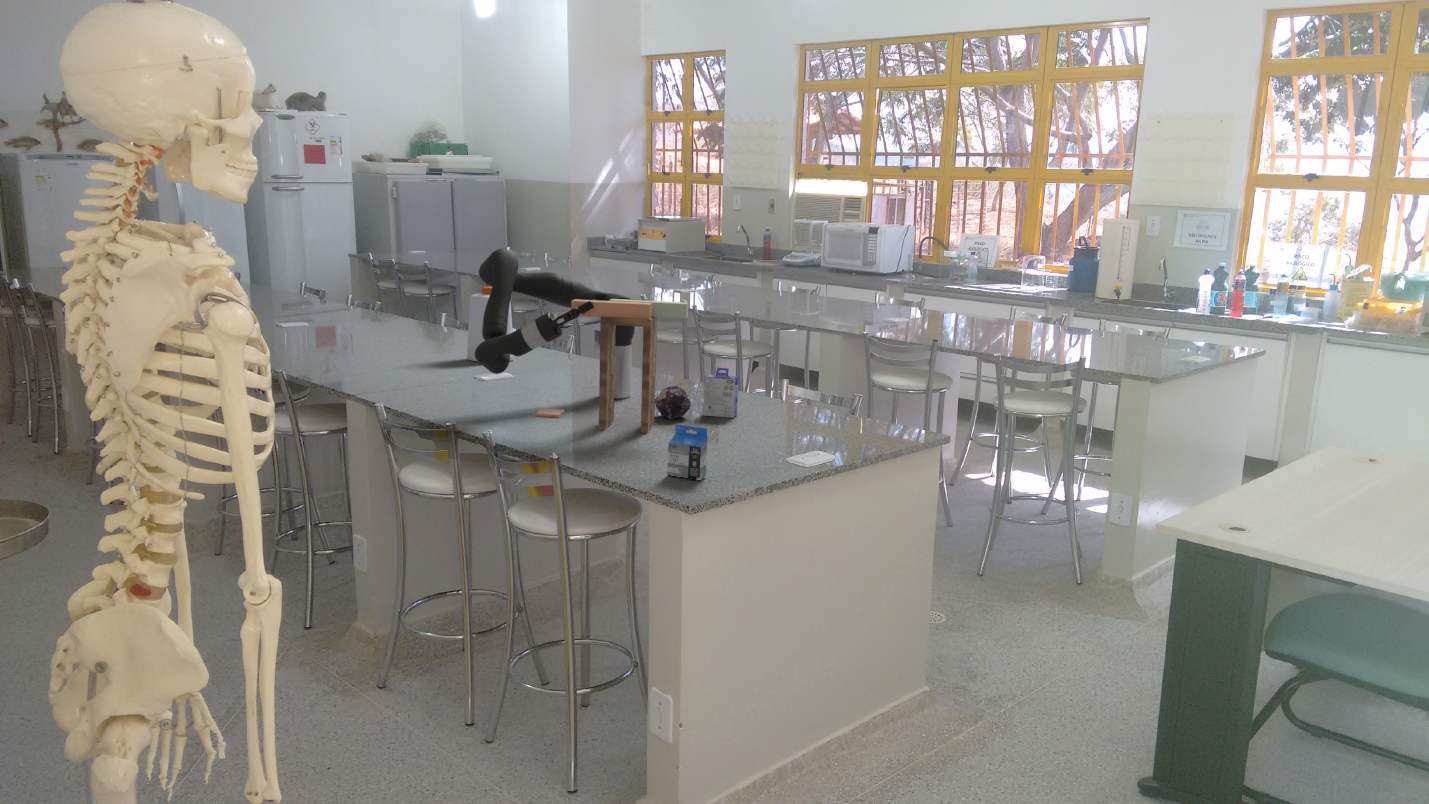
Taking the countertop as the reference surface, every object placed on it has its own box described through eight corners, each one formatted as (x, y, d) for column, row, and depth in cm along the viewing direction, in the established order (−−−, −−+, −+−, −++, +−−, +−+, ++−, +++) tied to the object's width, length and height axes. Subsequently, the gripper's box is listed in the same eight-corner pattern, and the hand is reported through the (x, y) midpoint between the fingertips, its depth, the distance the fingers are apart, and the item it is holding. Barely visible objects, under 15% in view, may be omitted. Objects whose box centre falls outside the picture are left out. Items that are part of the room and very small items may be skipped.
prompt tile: (541, 411, 313) (541, 408, 313) (564, 412, 313) (564, 409, 312) (535, 416, 306) (535, 413, 306) (558, 417, 306) (558, 414, 306)
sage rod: (611, 312, 296) (611, 298, 295) (687, 316, 294) (688, 302, 294) (608, 314, 292) (609, 300, 292) (686, 318, 290) (686, 304, 290)
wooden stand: (607, 420, 304) (608, 312, 297) (654, 423, 303) (657, 314, 296) (598, 430, 292) (600, 317, 286) (647, 432, 291) (650, 319, 285)
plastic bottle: (491, 355, 407) (491, 284, 402) (519, 360, 399) (519, 287, 393) (462, 360, 395) (461, 286, 390) (489, 365, 387) (489, 290, 381)
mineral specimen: (650, 407, 316) (664, 377, 315) (681, 421, 317) (695, 392, 316) (649, 413, 307) (664, 382, 305) (681, 427, 308) (696, 397, 306)
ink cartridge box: (737, 414, 319) (739, 368, 316) (734, 418, 313) (736, 371, 310) (706, 412, 321) (708, 366, 318) (702, 416, 315) (704, 369, 312)
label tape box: (666, 476, 249) (667, 426, 246) (673, 472, 252) (675, 423, 250) (699, 481, 245) (701, 431, 243) (706, 477, 249) (708, 428, 246)
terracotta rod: (574, 313, 292) (574, 299, 291) (651, 317, 290) (652, 303, 289) (571, 315, 288) (571, 300, 287) (649, 319, 286) (650, 304, 285)
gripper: (528, 322, 284) (581, 293, 281) (541, 316, 298) (592, 288, 295) (541, 346, 285) (595, 318, 282) (554, 339, 299) (605, 312, 296)
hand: (593, 303), depth 288 cm, fingers closed on terracotta rod, 4 cm apart
